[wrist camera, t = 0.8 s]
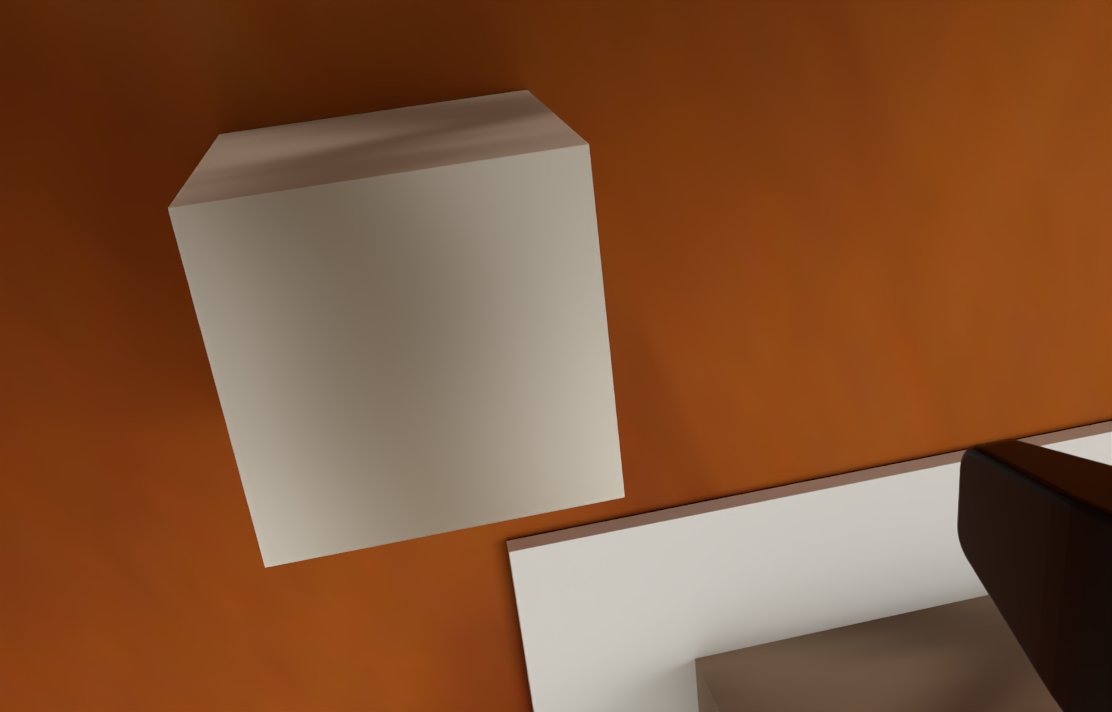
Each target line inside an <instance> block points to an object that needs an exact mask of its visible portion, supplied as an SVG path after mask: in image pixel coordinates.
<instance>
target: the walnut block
mask: <svg viewBox="0 0 1112 712" xmlns="http://www.w3.org/2000/svg"><path fill="white" fill-rule="evenodd" d="M695 668H696V681H697V695H698V708H699V712H1063V711H1062V710H1061V709H1060V707H1059V706H1058V704H1057V703H1056V702H1055V700H1054V699H1053V698H1052V696H1051V695H1050V693H1049V692H1048V690H1047V689H1046V687H1045V686H1044V684H1043V682H1042V681H1041V679H1040V678H1039V676H1038V675H1037V673H1036V672H1035V670H1034V668H1033V667H1032V665H1031V664H1030V662H1029V660H1028V659H1027V657H1026V655H1025V654H1024V652H1023V650H1022V649H1021V647H1020V646H1019V644H1018V642H1017V641H1016V639H1015V637H1014V636H1013V634H1012V632H1011V631H1010V629H1009V627H1008V626H1007V624H1006V623H1005V621H1004V619H1003V618H1002V616H1001V614H1000V613H999V611H998V609H997V608H996V606H995V605H994V603H993V601H992V600H991V598H990V596H989V595H986V596H981V597H976V598H972V599H967V600H963V601H958V602H953V603H949V604H944V605H940V606H935V607H930V608H926V609H921V610H917V611H912V612H907V613H903V614H898V615H894V616H889V617H884V618H880V619H875V620H871V621H866V622H861V623H857V624H852V625H848V626H843V627H838V628H834V629H829V630H825V631H820V632H815V633H811V634H806V635H802V636H797V637H792V638H788V639H783V640H779V641H774V642H769V643H765V644H760V645H756V646H751V647H746V648H742V649H737V650H733V651H728V652H723V653H719V654H714V655H710V656H705V657H700V658H696V659H695Z"/></svg>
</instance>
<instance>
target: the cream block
mask: <svg viewBox="0 0 1112 712" xmlns="http://www.w3.org/2000/svg"><path fill="white" fill-rule="evenodd" d="M168 211H169V215H170V218H171V222H172V226H173V229H174V233H175V237H176V240H177V244H178V248H179V252H180V255H181V259H182V263H183V266H184V270H185V274H186V277H187V281H188V285H189V288H190V292H191V296H192V300H193V303H194V307H195V311H196V314H197V318H198V322H199V325H200V329H201V333H202V336H203V340H204V344H205V348H206V351H207V355H208V359H209V362H210V366H211V370H212V373H213V377H214V381H215V384H216V388H217V392H218V395H219V399H220V403H221V407H222V410H223V414H224V418H225V421H226V425H227V429H228V432H229V436H230V440H231V443H232V447H233V451H234V455H235V458H236V462H237V466H238V469H239V473H240V477H241V480H242V484H243V488H244V491H245V495H246V499H247V503H248V506H249V510H250V514H251V517H252V521H253V525H254V528H255V532H256V536H257V539H258V543H259V547H260V551H261V554H262V558H263V562H264V565H265V568H266V567H271V566H276V565H281V564H286V563H291V562H296V561H301V560H307V559H312V558H317V557H322V556H327V555H332V554H337V553H342V552H347V551H352V550H358V549H363V548H368V547H373V546H378V545H383V544H388V543H393V542H398V541H404V540H409V539H414V538H419V537H424V536H429V535H434V534H439V533H444V532H450V531H455V530H460V529H465V528H470V527H475V526H480V525H485V524H490V523H495V522H501V521H506V520H511V519H516V518H521V517H526V516H531V515H536V514H541V513H547V512H552V511H557V510H562V509H567V508H572V507H577V506H582V505H587V504H593V503H598V502H603V501H608V500H613V499H618V498H623V497H625V495H624V485H623V476H622V466H621V456H620V446H619V436H618V426H617V416H616V406H615V396H614V387H613V377H612V367H611V357H610V347H609V337H608V327H607V317H606V307H605V298H604V288H603V278H602V268H601V258H600V248H599V238H598V228H597V218H596V209H595V199H594V189H593V179H592V169H591V159H590V149H589V144H588V143H587V142H586V141H585V140H584V139H583V138H582V137H580V136H579V135H578V134H577V133H576V132H575V131H574V130H572V129H571V128H570V127H569V126H568V125H567V124H566V123H565V122H563V121H562V120H561V119H560V118H559V117H558V116H557V115H556V114H554V113H553V112H552V111H551V110H550V109H549V108H548V107H546V106H545V105H544V104H543V103H542V102H541V101H540V100H539V99H537V98H536V97H535V96H534V95H533V94H532V93H531V92H529V91H528V90H521V91H514V92H507V93H500V94H493V95H487V96H480V97H473V98H466V99H459V100H452V101H445V102H438V103H431V104H424V105H417V106H411V107H404V108H397V109H390V110H383V111H376V112H369V113H362V114H355V115H348V116H341V117H335V118H328V119H321V120H314V121H307V122H300V123H293V124H286V125H279V126H272V127H265V128H259V129H252V130H245V131H238V132H231V133H224V134H219V135H218V137H217V138H216V140H215V141H214V143H213V144H212V145H211V147H210V148H209V150H208V151H207V153H206V154H205V156H204V157H203V158H202V160H201V161H200V163H199V164H198V166H197V167H196V168H195V170H194V171H193V173H192V174H191V176H190V177H189V178H188V180H187V181H186V183H185V184H184V186H183V187H182V189H181V190H180V191H179V193H178V194H177V196H176V197H175V199H174V200H173V201H172V203H171V204H170V206H169V207H168Z"/></svg>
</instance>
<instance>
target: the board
mask: <svg viewBox="0 0 1112 712" xmlns="http://www.w3.org/2000/svg"><path fill="white" fill-rule="evenodd" d="M1018 440H1019V441H1022V442H1026V443H1030V444H1034V445H1037V446H1041V447H1045V448H1048V449H1052V450H1056V451H1060V452H1063V453H1067V454H1071V455H1075V456H1078V457H1082V458H1086V459H1089V460H1093V461H1097V462H1101V463H1104V464H1108V465H1112V421H1109V422H1104V423H1099V424H1093V425H1088V426H1083V427H1078V428H1073V429H1068V430H1063V431H1058V432H1053V433H1048V434H1043V435H1038V436H1033V437H1028V438H1023V439H1018ZM965 451H966V450H962V451H957V452H952V453H947V454H942V455H937V456H932V457H927V458H922V459H917V460H912V461H907V462H902V463H897V464H892V465H887V466H882V467H877V468H872V469H867V470H862V471H857V472H852V473H847V474H842V475H836V476H831V477H826V478H821V479H816V480H811V481H806V482H801V483H796V484H791V485H786V486H781V487H776V488H771V489H766V490H761V491H756V492H751V493H746V494H741V495H736V496H731V497H726V498H721V499H716V500H711V501H705V502H700V503H695V504H690V505H685V506H680V507H675V508H670V509H665V510H660V511H655V512H650V513H645V514H640V515H635V516H630V517H625V518H620V519H615V520H610V521H605V522H600V523H595V524H590V525H585V526H580V527H574V528H569V529H564V530H559V531H554V532H549V533H544V534H539V535H534V536H529V537H524V538H519V539H514V540H509V541H506V542H507V548H508V555H509V561H510V568H511V574H512V580H513V587H514V593H515V599H516V606H517V612H518V618H519V625H520V631H521V637H522V644H523V650H524V657H525V663H526V669H527V676H528V682H529V688H530V695H531V701H532V707H533V712H699V708H698V695H697V681H696V668H695V659H696V658H700V657H705V656H710V655H714V654H719V653H723V652H728V651H733V650H737V649H742V648H746V647H751V646H756V645H760V644H765V643H769V642H774V641H779V640H783V639H788V638H792V637H797V636H802V635H806V634H811V633H815V632H820V631H825V630H829V629H834V628H838V627H843V626H848V625H852V624H857V623H861V622H866V621H871V620H875V619H880V618H884V617H889V616H894V615H898V614H903V613H907V612H912V611H917V610H921V609H926V608H930V607H935V606H940V605H944V604H949V603H953V602H958V601H963V600H967V599H972V598H976V597H981V596H986V595H988V593H987V591H986V590H985V588H984V586H983V585H982V583H981V582H980V580H979V578H978V577H977V575H976V573H975V572H974V570H973V568H972V567H971V565H970V564H969V562H968V560H967V559H966V557H965V555H964V553H963V551H962V548H961V546H960V542H959V539H958V532H957V515H958V496H959V476H960V464H961V459H962V456H963V454H964V452H965Z"/></svg>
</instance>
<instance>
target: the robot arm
mask: <svg viewBox="0 0 1112 712" xmlns="http://www.w3.org/2000/svg"><path fill="white" fill-rule="evenodd" d="M957 532H958V539H959V542H960V546H961V548H962V551H963V553H964V555H965V557H966V559H967V560H968V562H969V564H970V565H971V567H972V568H973V570H974V572H975V573H976V575H977V577H978V578H979V580H980V582H981V583H982V585H983V586H984V588H985V590H986V591H987V593H988V595H989V596H990V598H991V600H992V601H993V603H994V605H995V606H996V608H997V609H998V611H999V613H1000V614H1001V616H1002V618H1003V619H1004V621H1005V623H1006V624H1007V626H1008V627H1009V629H1010V631H1011V632H1012V634H1013V636H1014V637H1015V639H1016V641H1017V642H1018V644H1019V646H1020V647H1021V649H1022V650H1023V652H1024V654H1025V655H1026V657H1027V659H1028V660H1029V662H1030V664H1031V665H1032V667H1033V668H1034V670H1035V672H1036V673H1037V675H1038V676H1039V678H1040V679H1041V681H1042V682H1043V684H1044V686H1045V687H1046V689H1047V690H1048V692H1049V693H1050V695H1051V696H1052V698H1053V699H1054V700H1055V702H1056V703H1057V704H1058V706H1059V707H1060V709H1061V710H1062V711H1063V712H1112V465H1108V464H1104V463H1101V462H1097V461H1093V460H1089V459H1086V458H1082V457H1078V456H1075V455H1071V454H1067V453H1063V452H1060V451H1056V450H1052V449H1048V448H1045V447H1041V446H1037V445H1034V444H1030V443H1026V442H1022V441H1019V440H1014V439H1005V440H1000V441H995V442H990V443H985V444H980V445H975V446H972V447H969V448H968V449H967V450H966V451H965V452H964V454H963V456H962V459H961V464H960V476H959V496H958V515H957Z"/></svg>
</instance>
